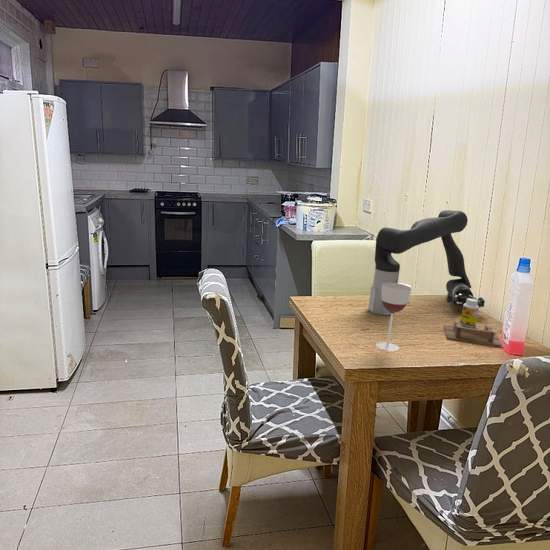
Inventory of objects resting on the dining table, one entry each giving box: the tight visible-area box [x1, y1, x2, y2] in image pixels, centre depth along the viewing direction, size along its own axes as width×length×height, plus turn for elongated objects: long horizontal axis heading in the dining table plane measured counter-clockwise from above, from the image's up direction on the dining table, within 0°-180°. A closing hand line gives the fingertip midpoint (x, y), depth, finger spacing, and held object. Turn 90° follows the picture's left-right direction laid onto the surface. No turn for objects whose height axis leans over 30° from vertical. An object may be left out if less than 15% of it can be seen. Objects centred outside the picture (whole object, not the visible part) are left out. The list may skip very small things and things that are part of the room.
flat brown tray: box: [443, 319, 503, 348], centre depth 178 cm, size 14×18×4 cm
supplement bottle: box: [459, 298, 480, 329], centre depth 191 cm, size 6×6×10 cm
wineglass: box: [375, 282, 410, 352], centre depth 160 cm, size 8×9×20 cm
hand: (467, 304), depth 199 cm, fingers open, 8 cm apart
